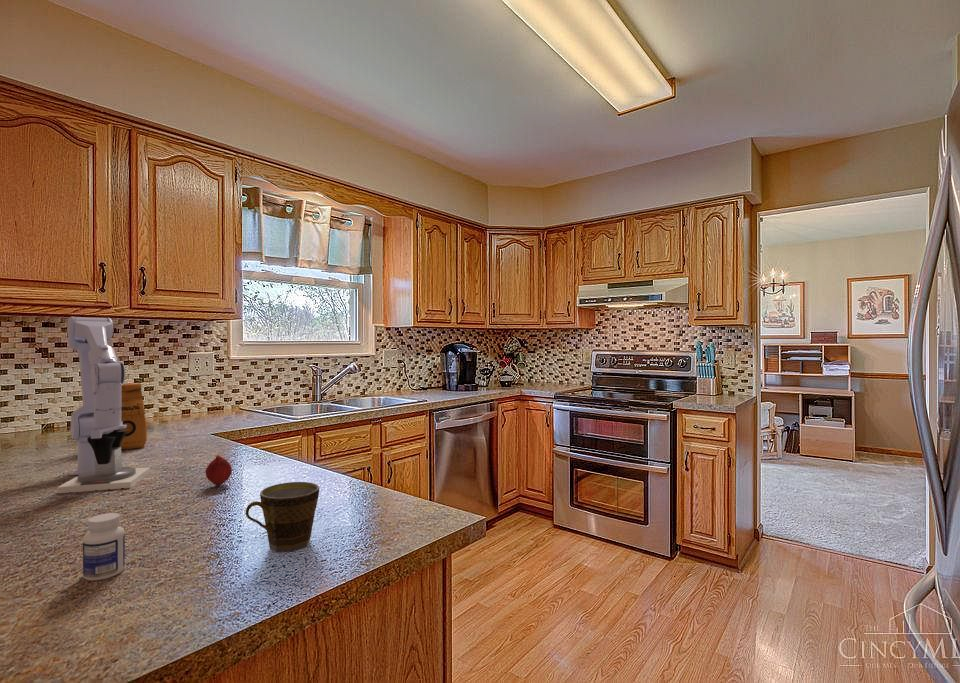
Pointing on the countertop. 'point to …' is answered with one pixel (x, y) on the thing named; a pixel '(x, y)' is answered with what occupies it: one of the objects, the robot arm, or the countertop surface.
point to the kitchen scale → (104, 480)
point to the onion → (218, 470)
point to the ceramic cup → (288, 514)
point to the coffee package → (133, 417)
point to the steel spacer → (110, 463)
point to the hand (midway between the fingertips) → (107, 461)
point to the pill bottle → (103, 547)
